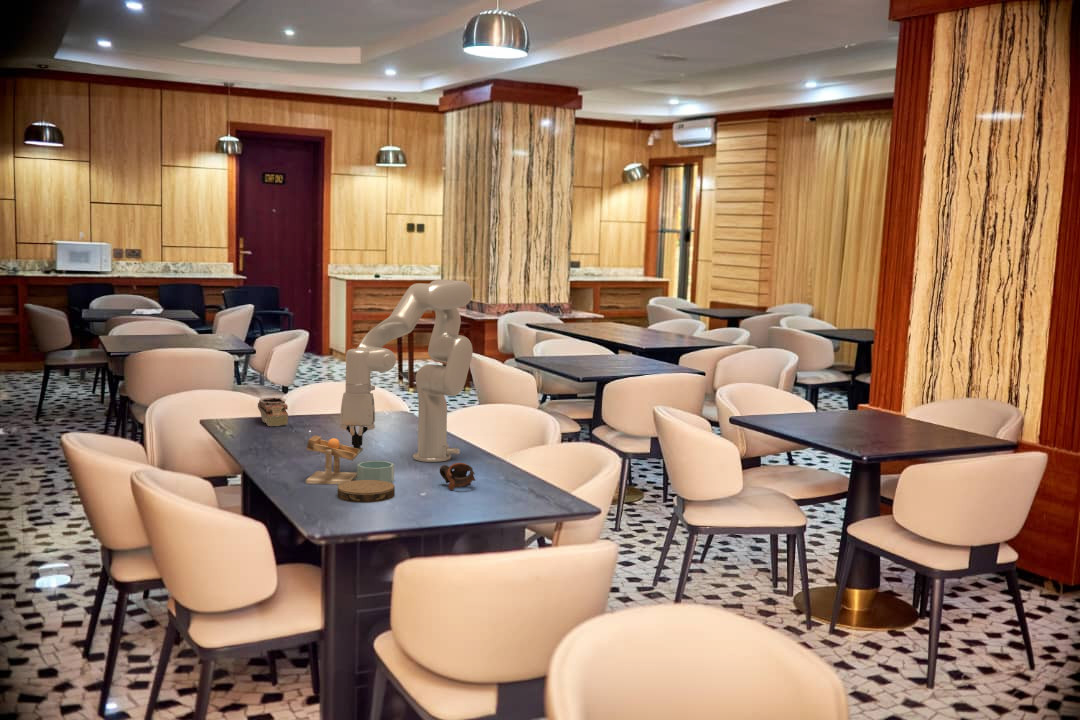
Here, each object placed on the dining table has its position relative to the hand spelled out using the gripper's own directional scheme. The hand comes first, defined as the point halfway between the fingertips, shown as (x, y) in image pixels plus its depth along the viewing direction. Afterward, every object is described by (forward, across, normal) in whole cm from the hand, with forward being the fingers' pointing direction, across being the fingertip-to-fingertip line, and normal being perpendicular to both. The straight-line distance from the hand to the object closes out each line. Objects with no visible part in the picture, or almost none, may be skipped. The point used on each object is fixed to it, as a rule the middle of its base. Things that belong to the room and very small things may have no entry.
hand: (357, 447), depth 311 cm
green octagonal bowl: (+8, -8, +10) cm, 15 cm away
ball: (-3, +5, +10) cm, 11 cm away
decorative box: (+8, +53, -82) cm, 98 cm away
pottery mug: (+8, -33, +14) cm, 36 cm away
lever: (0, +5, +6) cm, 8 cm away
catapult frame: (+8, +5, +10) cm, 14 cm away
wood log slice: (+9, -9, +28) cm, 30 cm away
